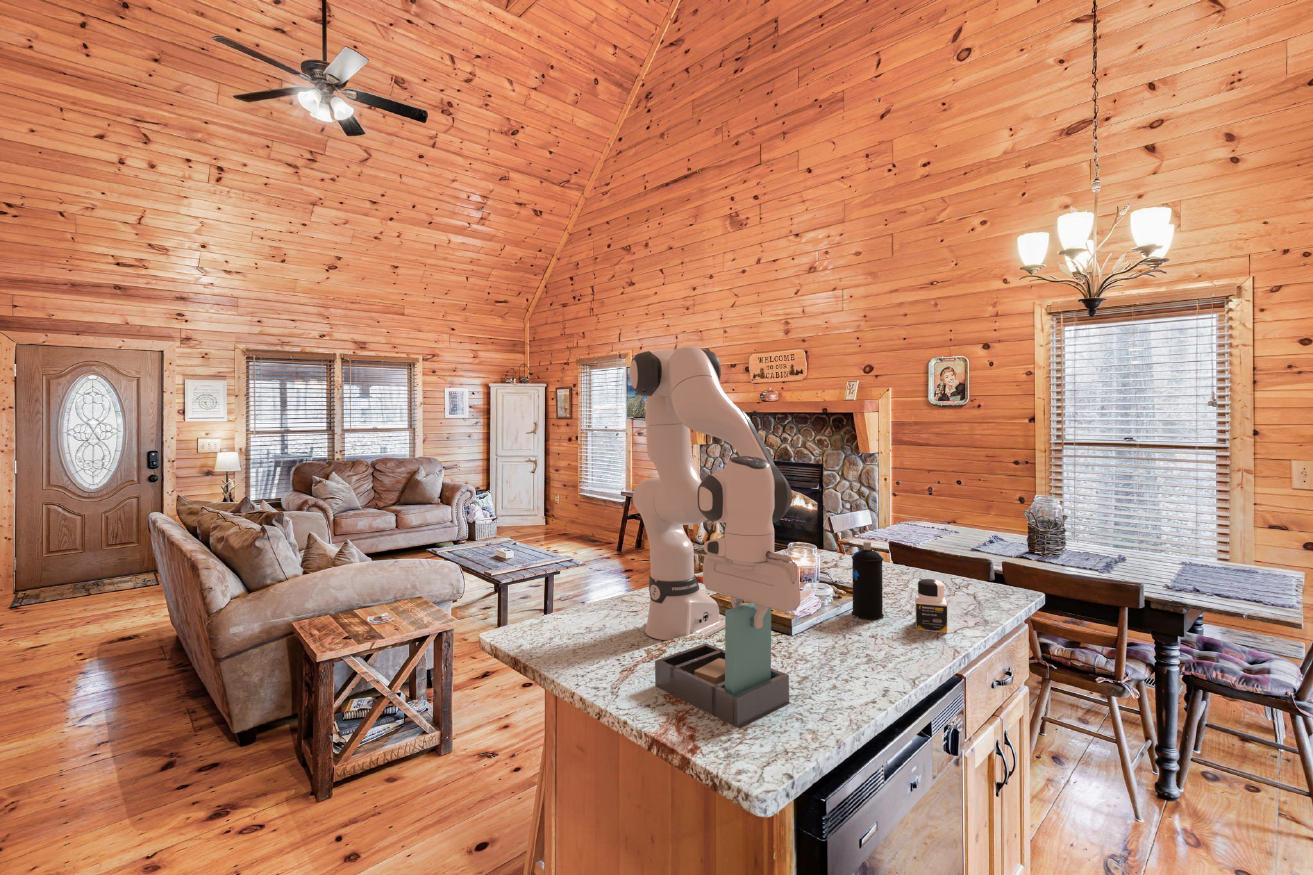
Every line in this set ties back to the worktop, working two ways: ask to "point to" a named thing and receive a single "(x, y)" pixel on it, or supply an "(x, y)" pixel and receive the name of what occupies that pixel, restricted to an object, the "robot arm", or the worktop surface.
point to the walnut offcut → (712, 671)
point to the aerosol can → (867, 584)
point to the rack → (719, 687)
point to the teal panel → (746, 649)
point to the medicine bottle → (931, 606)
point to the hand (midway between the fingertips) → (749, 624)
